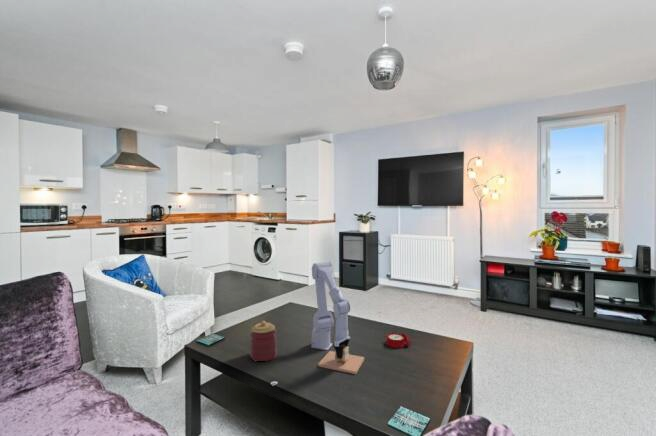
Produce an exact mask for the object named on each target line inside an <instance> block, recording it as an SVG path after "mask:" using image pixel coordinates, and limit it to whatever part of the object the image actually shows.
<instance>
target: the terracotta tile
mask: <svg viewBox="0 0 656 436" xmlns="http://www.w3.org/2000/svg"><path fill="white" fill-rule="evenodd" d="M364 361H365V356H361V355H353V354H350V353H349V358H348V359H347V360H346V362H343V361H337V360H335V351H333V350H328V353H326V354H325V356H324V357H323V358H322V359H321V360H320V361H319V362H318V364H317V366H318V367H319V368H323V369H329V370H333V371H339V372H342V373H348V374H352V375H356V374H357V373H358V371H359V369H360V368H361V367H362V364H363V363H364Z"/></svg>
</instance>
